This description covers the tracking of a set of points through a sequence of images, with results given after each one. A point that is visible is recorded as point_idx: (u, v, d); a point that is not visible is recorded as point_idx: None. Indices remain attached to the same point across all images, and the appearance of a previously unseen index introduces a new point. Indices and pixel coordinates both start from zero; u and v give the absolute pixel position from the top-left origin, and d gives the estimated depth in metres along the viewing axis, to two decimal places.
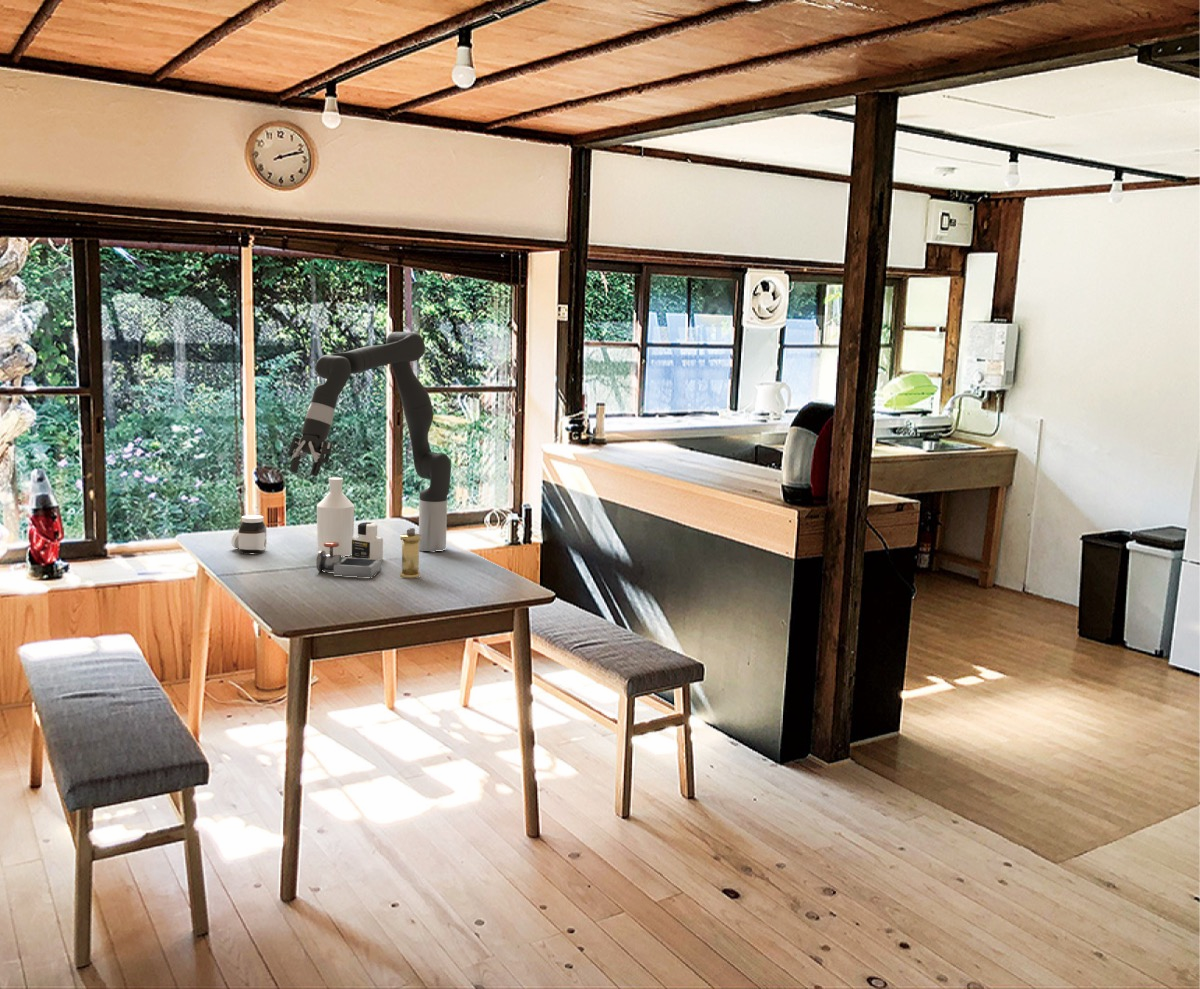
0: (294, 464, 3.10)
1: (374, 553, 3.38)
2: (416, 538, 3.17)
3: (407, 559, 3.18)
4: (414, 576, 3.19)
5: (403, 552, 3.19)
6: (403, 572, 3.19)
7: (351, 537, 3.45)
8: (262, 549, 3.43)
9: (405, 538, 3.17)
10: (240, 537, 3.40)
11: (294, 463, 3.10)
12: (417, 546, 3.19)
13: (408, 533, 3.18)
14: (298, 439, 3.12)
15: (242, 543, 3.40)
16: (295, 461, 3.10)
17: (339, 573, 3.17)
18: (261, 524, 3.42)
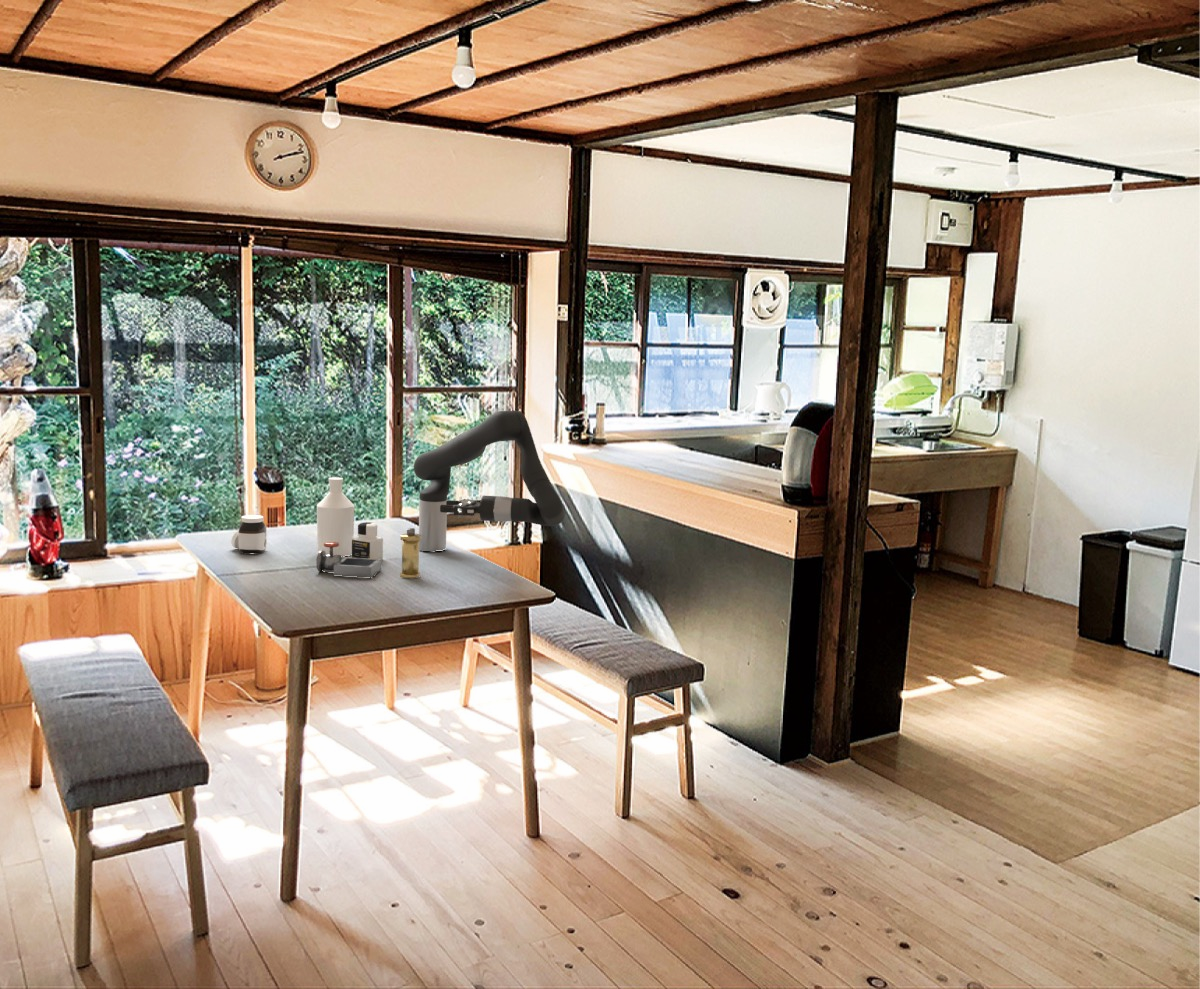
0: None
1: (374, 553, 3.38)
2: (416, 538, 3.17)
3: (407, 559, 3.18)
4: (414, 576, 3.19)
5: (403, 552, 3.19)
6: (403, 572, 3.19)
7: (351, 537, 3.45)
8: (262, 549, 3.43)
9: (405, 538, 3.17)
10: (240, 537, 3.40)
11: None
12: (417, 546, 3.19)
13: (408, 533, 3.18)
14: None
15: (242, 543, 3.40)
16: None
17: (339, 573, 3.17)
18: (261, 524, 3.42)
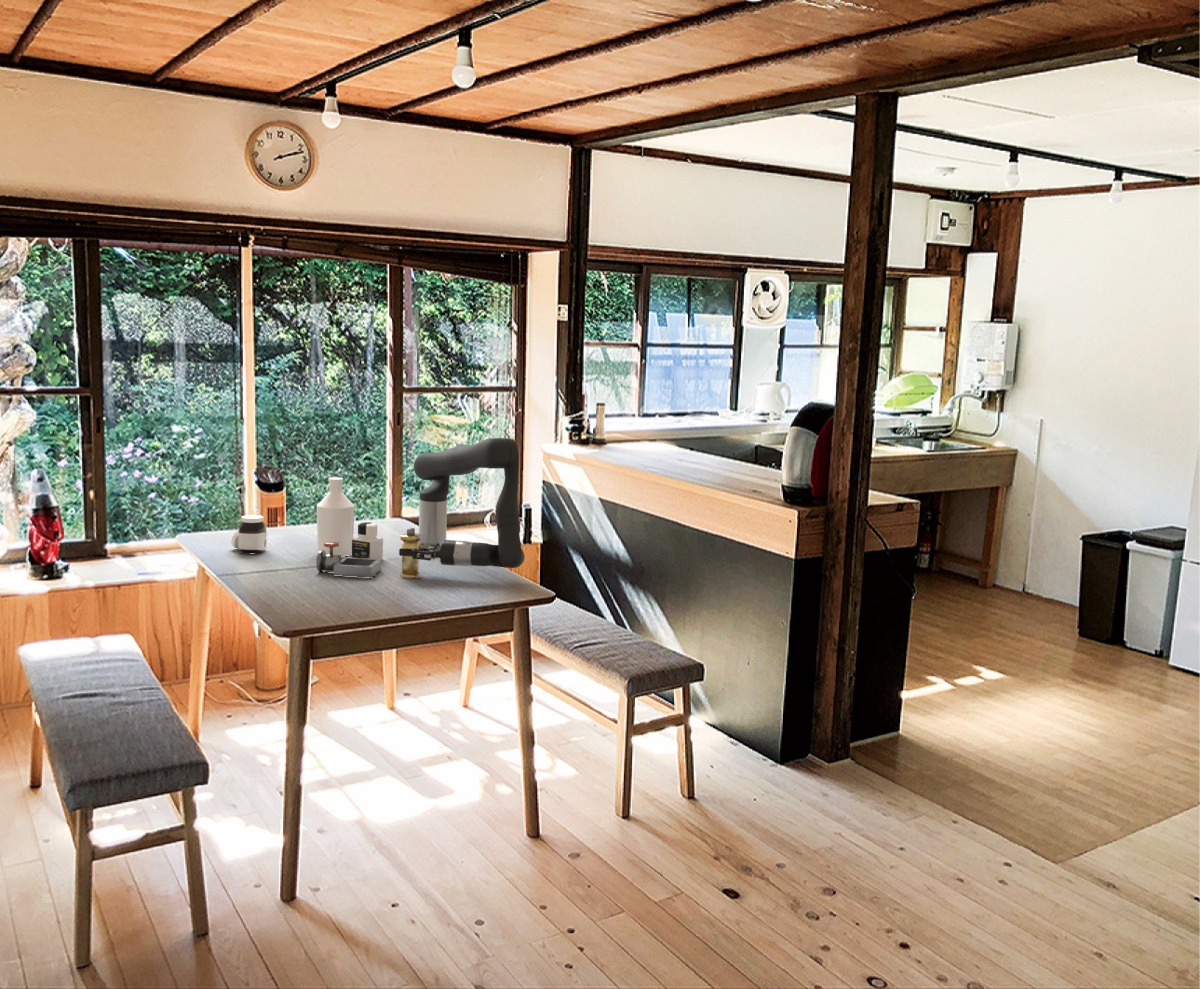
0: None
1: (374, 553, 3.38)
2: (416, 538, 3.17)
3: (407, 559, 3.18)
4: (414, 576, 3.19)
5: None
6: (403, 572, 3.19)
7: (351, 537, 3.45)
8: (262, 549, 3.43)
9: (405, 538, 3.17)
10: (240, 537, 3.40)
11: None
12: (417, 546, 3.19)
13: (408, 533, 3.18)
14: None
15: (242, 543, 3.40)
16: None
17: (339, 573, 3.17)
18: (261, 524, 3.42)
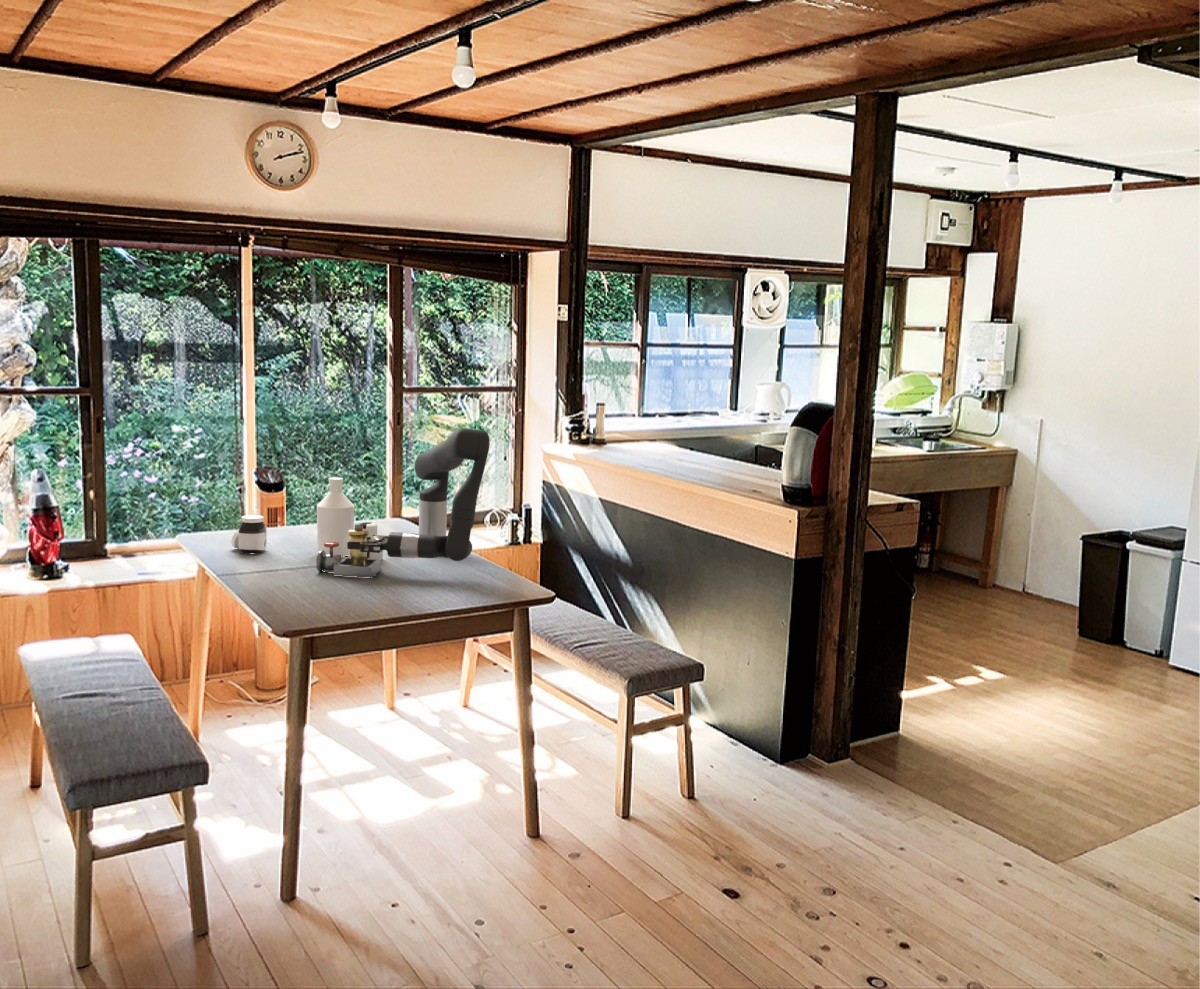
0: None
1: (374, 553, 3.38)
2: (363, 533, 3.18)
3: (355, 554, 3.19)
4: None
5: None
6: None
7: None
8: (262, 549, 3.43)
9: (352, 533, 3.17)
10: (240, 537, 3.40)
11: None
12: (365, 541, 3.20)
13: (356, 528, 3.19)
14: None
15: (242, 544, 3.40)
16: None
17: (339, 573, 3.17)
18: (261, 524, 3.42)
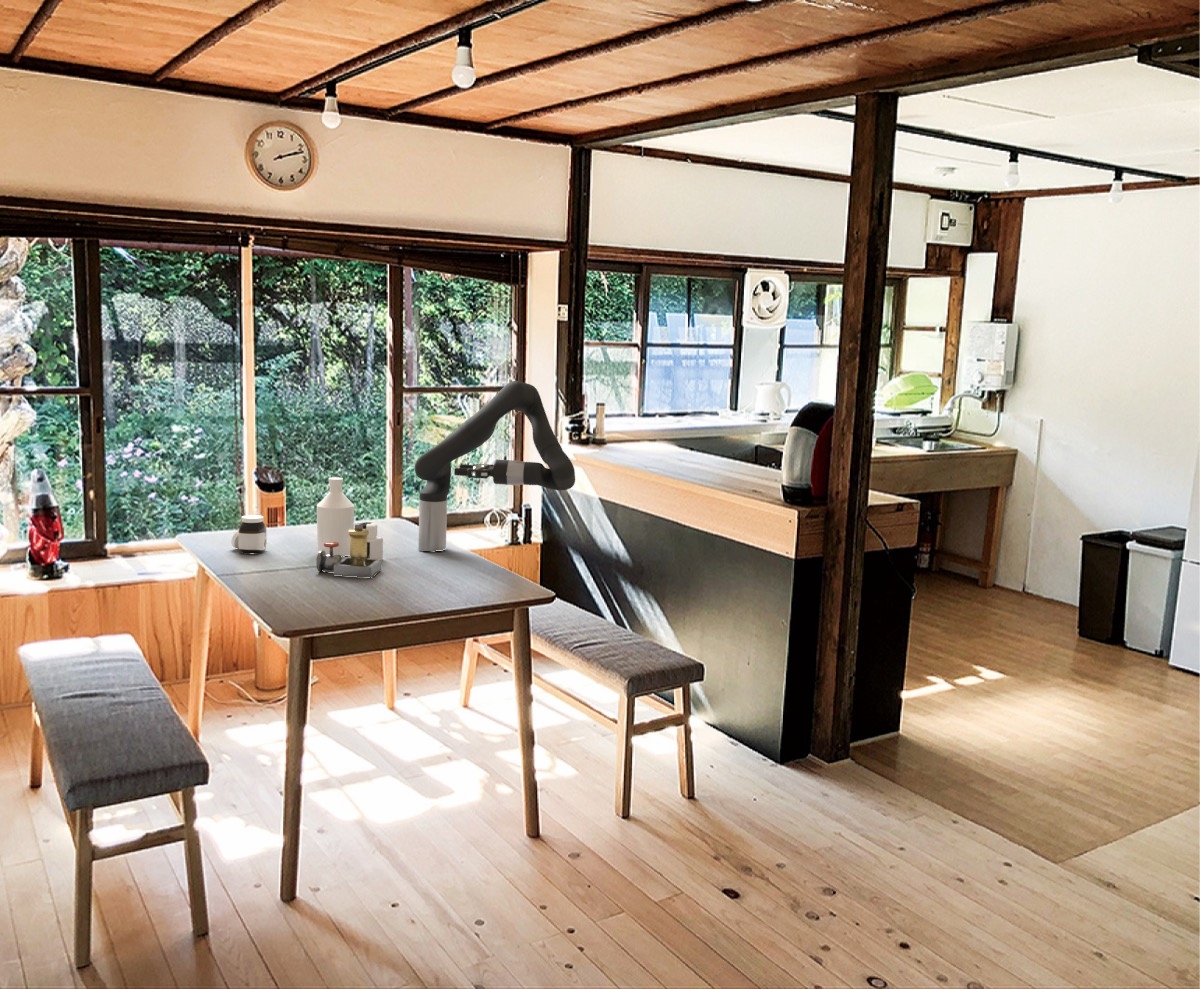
0: None
1: (374, 553, 3.38)
2: (363, 533, 3.18)
3: (355, 554, 3.19)
4: None
5: (351, 547, 3.19)
6: None
7: None
8: (262, 549, 3.43)
9: (352, 533, 3.17)
10: (240, 537, 3.40)
11: None
12: (365, 541, 3.20)
13: (356, 528, 3.19)
14: None
15: (242, 544, 3.40)
16: None
17: (339, 573, 3.17)
18: (261, 524, 3.42)
